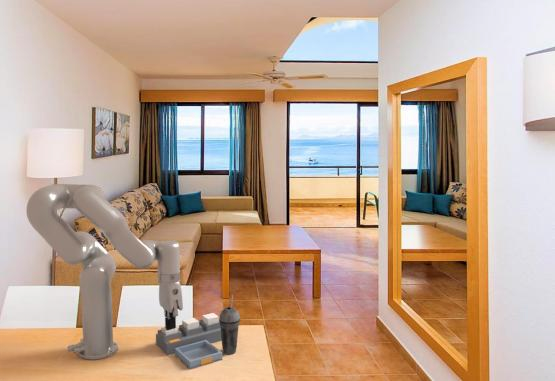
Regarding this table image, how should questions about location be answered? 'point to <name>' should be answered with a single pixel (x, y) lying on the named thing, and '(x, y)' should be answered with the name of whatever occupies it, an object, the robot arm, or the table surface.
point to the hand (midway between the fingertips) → (170, 328)
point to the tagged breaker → (168, 331)
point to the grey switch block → (191, 333)
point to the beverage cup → (229, 329)
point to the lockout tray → (198, 354)
